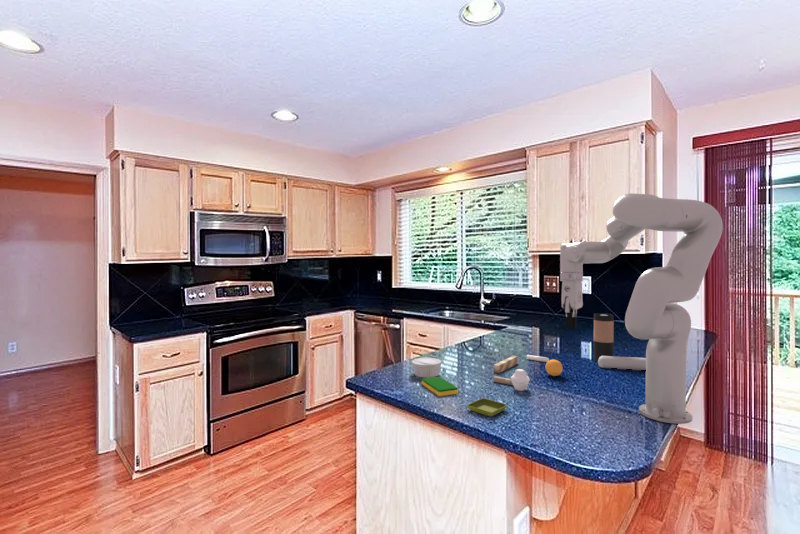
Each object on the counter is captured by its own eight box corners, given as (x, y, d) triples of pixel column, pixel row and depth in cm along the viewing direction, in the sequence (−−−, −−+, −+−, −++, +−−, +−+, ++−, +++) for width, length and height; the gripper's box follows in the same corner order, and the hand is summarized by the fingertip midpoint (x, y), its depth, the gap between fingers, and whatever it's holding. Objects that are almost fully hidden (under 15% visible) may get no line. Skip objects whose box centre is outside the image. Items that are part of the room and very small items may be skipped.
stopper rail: (498, 373, 158) (498, 365, 158) (493, 372, 159) (493, 364, 159) (517, 363, 172) (517, 356, 172) (513, 362, 173) (513, 355, 173)
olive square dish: (466, 411, 120) (466, 404, 120) (483, 404, 126) (483, 397, 126) (491, 420, 114) (491, 412, 114) (508, 411, 120) (508, 404, 120)
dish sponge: (439, 397, 133) (439, 390, 133) (421, 385, 145) (421, 378, 145) (458, 394, 135) (458, 387, 135) (439, 382, 148) (439, 376, 148)
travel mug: (589, 360, 177) (589, 313, 176) (601, 358, 180) (602, 312, 180) (604, 364, 170) (605, 316, 170) (617, 362, 173) (617, 314, 173)
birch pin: (517, 386, 141) (492, 381, 147) (519, 386, 143) (495, 382, 148) (517, 380, 142) (493, 375, 147) (520, 381, 143) (496, 376, 149)
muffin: (521, 385, 143) (521, 365, 143) (533, 390, 137) (533, 370, 137) (506, 387, 141) (507, 367, 140) (518, 393, 135) (518, 372, 135)
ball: (541, 359, 155) (543, 376, 153) (557, 359, 151) (559, 376, 150) (548, 359, 159) (550, 375, 158) (564, 359, 155) (565, 375, 154)
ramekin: (409, 378, 153) (409, 363, 153) (415, 369, 164) (415, 356, 164) (439, 380, 150) (439, 365, 150) (443, 371, 161) (443, 358, 161)
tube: (599, 359, 163) (671, 363, 156) (597, 352, 168) (667, 356, 161) (598, 371, 165) (670, 375, 158) (596, 363, 170) (666, 367, 162)
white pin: (548, 356, 174) (528, 353, 180) (547, 359, 173) (526, 355, 179) (549, 361, 175) (528, 358, 180) (547, 363, 173) (526, 360, 179)
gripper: (576, 278, 141) (576, 331, 141) (588, 276, 152) (587, 326, 153) (553, 277, 145) (553, 329, 146) (567, 276, 157) (567, 324, 157)
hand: (571, 327), depth 149 cm, fingers closed
